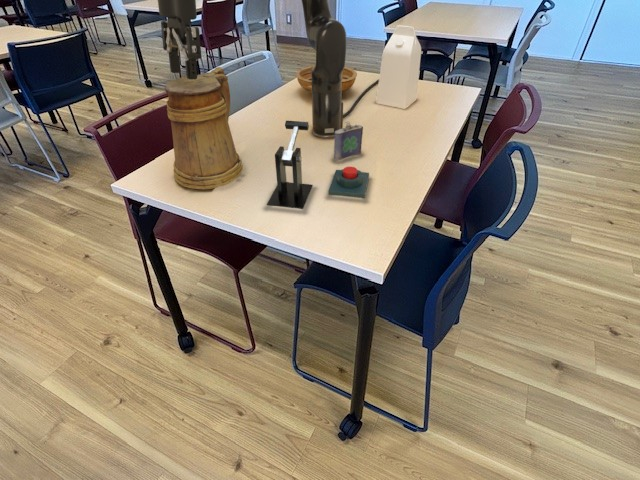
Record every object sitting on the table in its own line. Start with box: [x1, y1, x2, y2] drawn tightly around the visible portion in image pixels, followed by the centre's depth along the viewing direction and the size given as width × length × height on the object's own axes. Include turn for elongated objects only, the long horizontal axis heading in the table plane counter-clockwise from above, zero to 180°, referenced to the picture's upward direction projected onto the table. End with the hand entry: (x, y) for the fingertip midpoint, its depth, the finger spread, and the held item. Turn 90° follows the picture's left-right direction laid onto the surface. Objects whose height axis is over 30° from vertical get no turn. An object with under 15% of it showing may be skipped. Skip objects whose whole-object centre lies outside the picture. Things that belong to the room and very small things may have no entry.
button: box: [343, 166, 358, 179], centre depth 96 cm, size 4×4×2 cm
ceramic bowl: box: [295, 65, 358, 94], centre depth 153 cm, size 30×24×8 cm
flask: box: [333, 121, 364, 161], centre depth 108 cm, size 9×3×11 cm, turn 121°
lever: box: [282, 120, 310, 168], centre depth 90 cm, size 12×6×2 cm, turn 168°
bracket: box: [266, 146, 314, 210], centre depth 91 cm, size 11×9×13 cm
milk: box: [375, 24, 422, 110], centre depth 140 cm, size 12×12×26 cm
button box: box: [328, 168, 370, 199], centre depth 97 cm, size 11×9×4 cm
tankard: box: [164, 66, 244, 190], centre depth 99 cm, size 18×24×25 cm
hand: (183, 75), depth 87 cm, fingers open, 8 cm apart
